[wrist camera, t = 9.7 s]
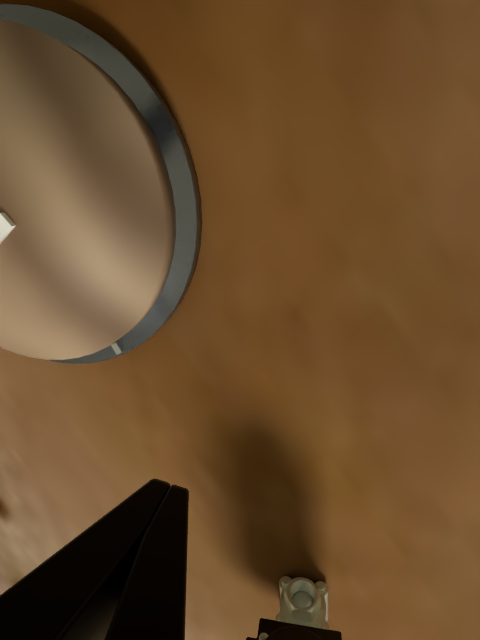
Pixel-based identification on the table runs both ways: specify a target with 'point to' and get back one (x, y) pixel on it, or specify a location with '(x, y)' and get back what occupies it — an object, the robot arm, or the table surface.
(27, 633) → the robot arm
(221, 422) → the table surface
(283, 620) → the pneumatic valve
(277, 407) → the table surface
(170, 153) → the dial housing
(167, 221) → the dial
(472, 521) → the table surface
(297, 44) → the table surface
